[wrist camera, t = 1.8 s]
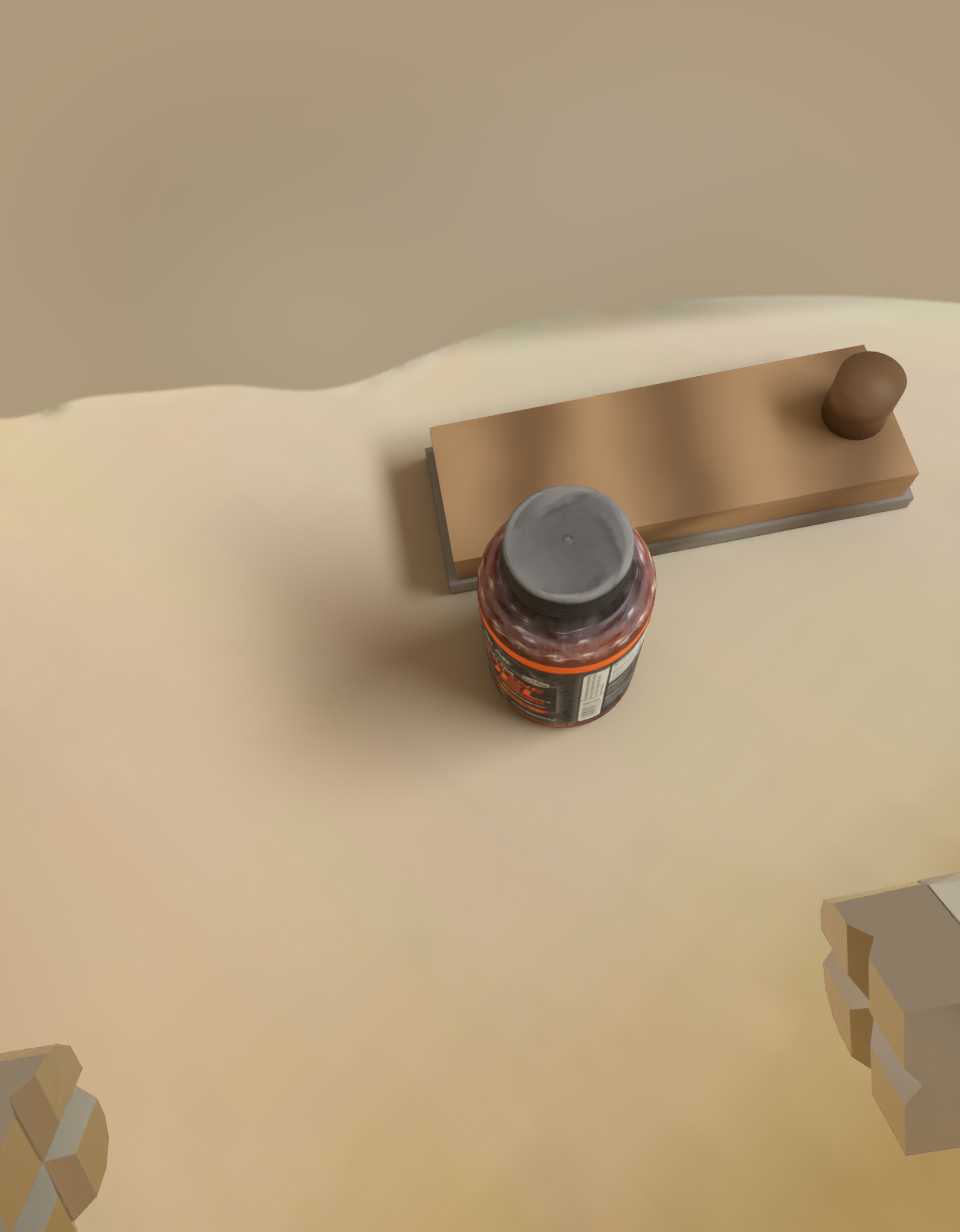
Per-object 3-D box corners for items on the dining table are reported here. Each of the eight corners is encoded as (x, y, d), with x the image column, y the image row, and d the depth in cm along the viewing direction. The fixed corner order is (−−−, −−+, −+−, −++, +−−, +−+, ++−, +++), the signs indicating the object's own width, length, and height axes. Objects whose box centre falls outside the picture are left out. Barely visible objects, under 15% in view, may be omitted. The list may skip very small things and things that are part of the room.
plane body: (451, 594, 38) (438, 541, 34) (427, 458, 41) (411, 392, 36) (907, 507, 38) (955, 442, 34) (852, 376, 41) (891, 300, 36)
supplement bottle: (460, 665, 37) (425, 543, 27) (557, 570, 38) (559, 418, 28) (566, 763, 35) (573, 672, 25) (664, 659, 37) (710, 532, 26)
